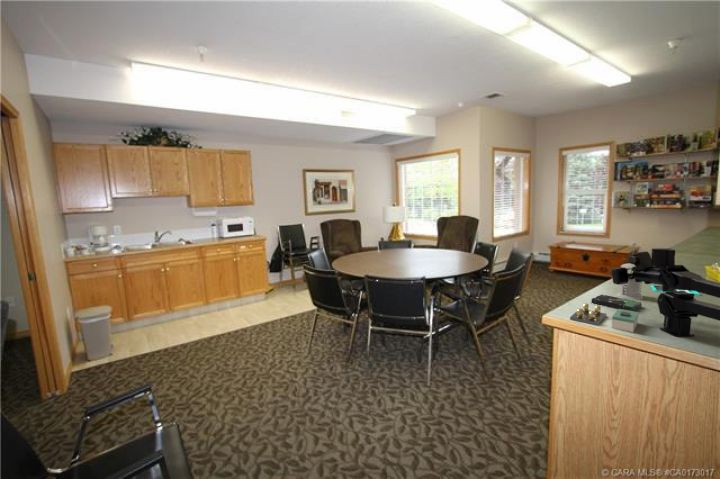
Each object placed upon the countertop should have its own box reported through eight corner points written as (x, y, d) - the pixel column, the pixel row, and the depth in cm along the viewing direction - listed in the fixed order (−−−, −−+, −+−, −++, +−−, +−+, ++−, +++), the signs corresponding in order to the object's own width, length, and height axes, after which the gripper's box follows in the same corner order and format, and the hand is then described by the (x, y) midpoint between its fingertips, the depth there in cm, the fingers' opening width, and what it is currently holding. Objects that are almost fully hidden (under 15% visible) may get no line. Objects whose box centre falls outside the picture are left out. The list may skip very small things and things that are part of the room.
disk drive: (590, 304, 146) (632, 313, 134) (591, 298, 146) (632, 306, 134) (601, 300, 152) (641, 308, 140) (601, 294, 152) (642, 301, 139)
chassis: (580, 310, 138) (580, 301, 137) (606, 316, 131) (607, 306, 130) (570, 319, 129) (570, 309, 128) (597, 325, 122) (598, 315, 122)
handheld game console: (700, 296, 151) (700, 293, 151) (653, 292, 160) (654, 289, 160) (693, 291, 160) (693, 288, 160) (649, 287, 168) (650, 284, 168)
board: (617, 319, 128) (618, 307, 127) (637, 323, 123) (638, 310, 123) (611, 328, 120) (612, 314, 119) (632, 333, 116) (633, 318, 115)
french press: (648, 297, 152) (653, 242, 148) (632, 300, 147) (636, 245, 144) (624, 291, 161) (628, 240, 157) (609, 295, 157) (612, 242, 153)
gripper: (677, 250, 121) (641, 248, 137) (627, 257, 121) (596, 254, 137) (680, 281, 122) (643, 275, 137) (630, 287, 122) (599, 281, 137)
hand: (620, 270), depth 137 cm, fingers open, 9 cm apart
